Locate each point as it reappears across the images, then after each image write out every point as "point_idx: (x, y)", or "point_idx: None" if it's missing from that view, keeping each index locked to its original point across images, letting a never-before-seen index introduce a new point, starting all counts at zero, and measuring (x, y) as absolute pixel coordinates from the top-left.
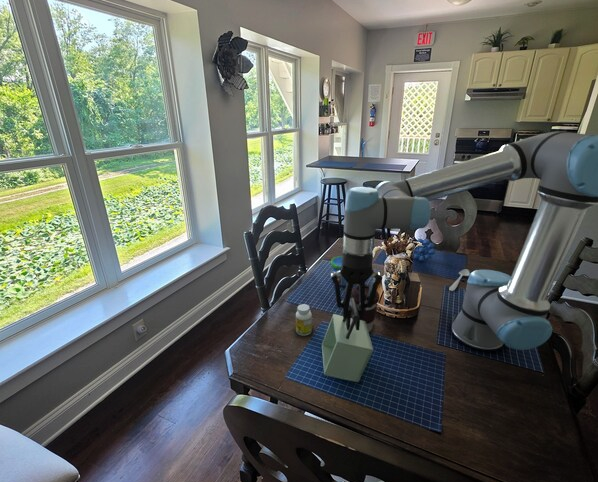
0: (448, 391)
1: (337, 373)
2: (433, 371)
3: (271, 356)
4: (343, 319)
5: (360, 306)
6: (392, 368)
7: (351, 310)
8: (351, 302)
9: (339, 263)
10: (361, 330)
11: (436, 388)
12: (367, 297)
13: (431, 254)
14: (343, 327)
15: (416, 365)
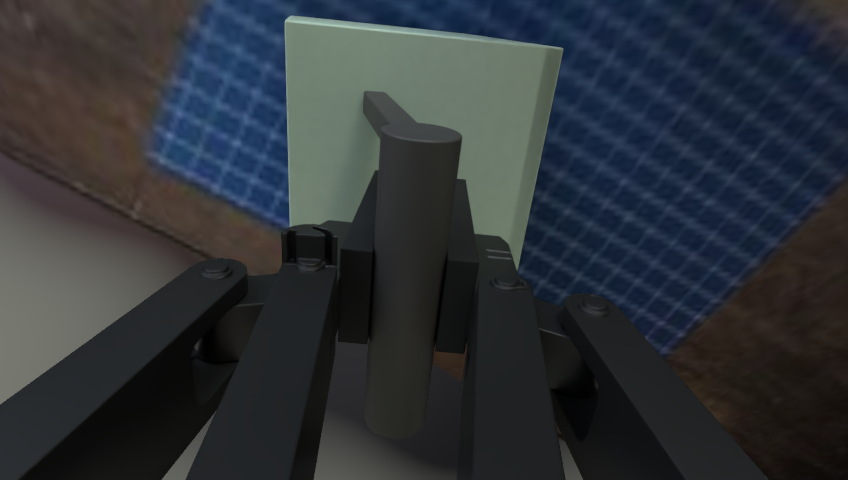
0: (754, 290)
1: None
2: (774, 200)
3: (52, 21)
4: (365, 114)
5: (464, 368)
6: (611, 164)
7: (371, 340)
8: (394, 240)
9: None
10: (491, 174)
11: (721, 274)
12: (589, 362)
13: None
14: (356, 184)
15: (727, 160)
